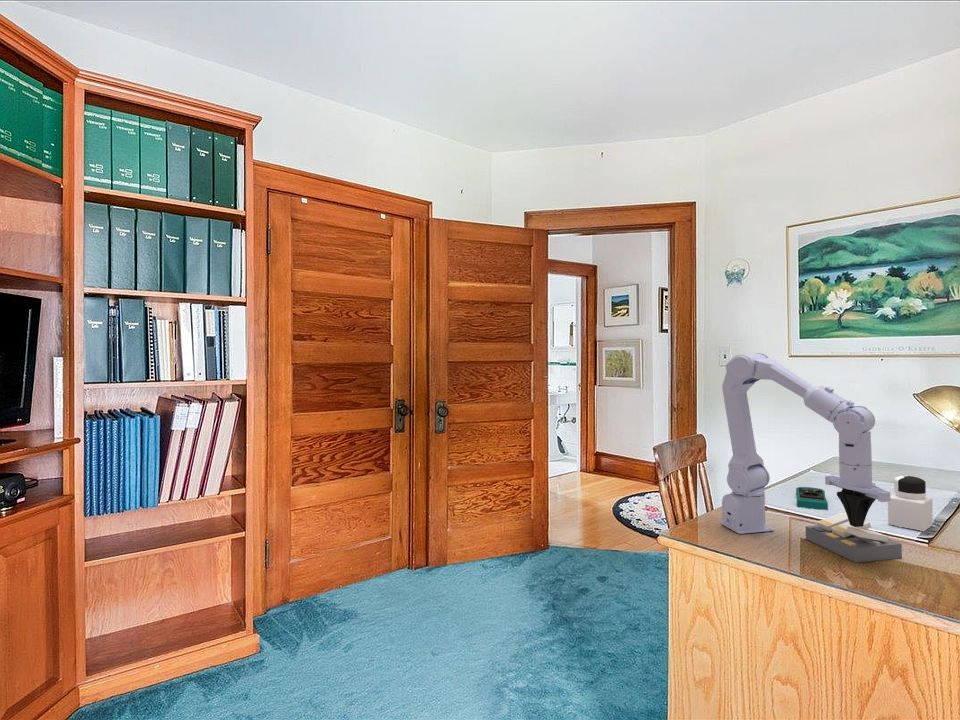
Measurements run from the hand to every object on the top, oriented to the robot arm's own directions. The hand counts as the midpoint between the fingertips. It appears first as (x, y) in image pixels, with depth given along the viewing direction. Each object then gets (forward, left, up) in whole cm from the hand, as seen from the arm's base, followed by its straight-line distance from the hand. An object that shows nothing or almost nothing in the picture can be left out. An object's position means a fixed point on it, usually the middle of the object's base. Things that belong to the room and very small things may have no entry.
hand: (856, 525), depth 113 cm
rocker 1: (+3, +8, -2) cm, 9 cm away
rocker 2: (+3, +4, -2) cm, 5 cm away
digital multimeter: (+20, +36, -7) cm, 42 cm away
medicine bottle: (+28, +13, -7) cm, 31 cm away
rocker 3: (+3, 0, -2) cm, 3 cm away
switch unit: (+3, +4, -7) cm, 8 cm away
